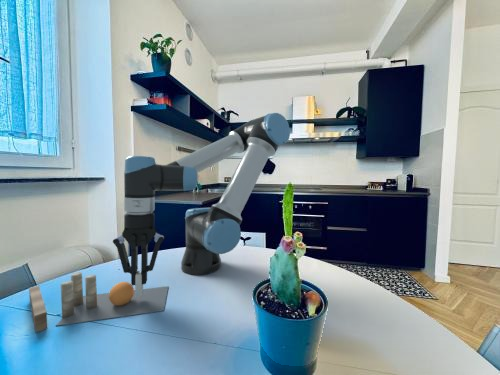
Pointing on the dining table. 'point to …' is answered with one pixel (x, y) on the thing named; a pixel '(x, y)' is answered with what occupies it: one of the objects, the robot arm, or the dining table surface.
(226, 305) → the dining table surface
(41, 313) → the back wall
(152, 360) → the dining table surface
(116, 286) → the ball
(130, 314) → the mat
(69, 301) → the pin
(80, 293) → the pin
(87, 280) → the front pin
